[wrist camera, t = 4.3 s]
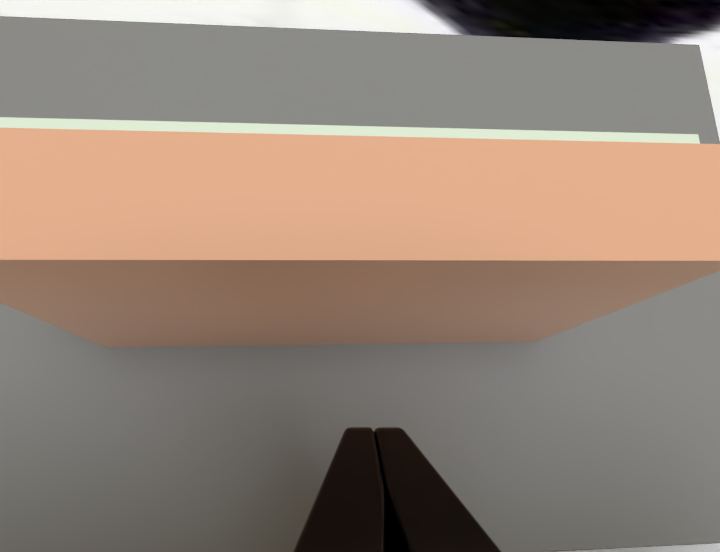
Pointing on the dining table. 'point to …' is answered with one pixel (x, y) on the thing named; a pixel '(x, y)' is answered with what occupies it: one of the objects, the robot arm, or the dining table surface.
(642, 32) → the dining table surface
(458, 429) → the mat
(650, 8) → the dining table surface
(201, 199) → the tile
